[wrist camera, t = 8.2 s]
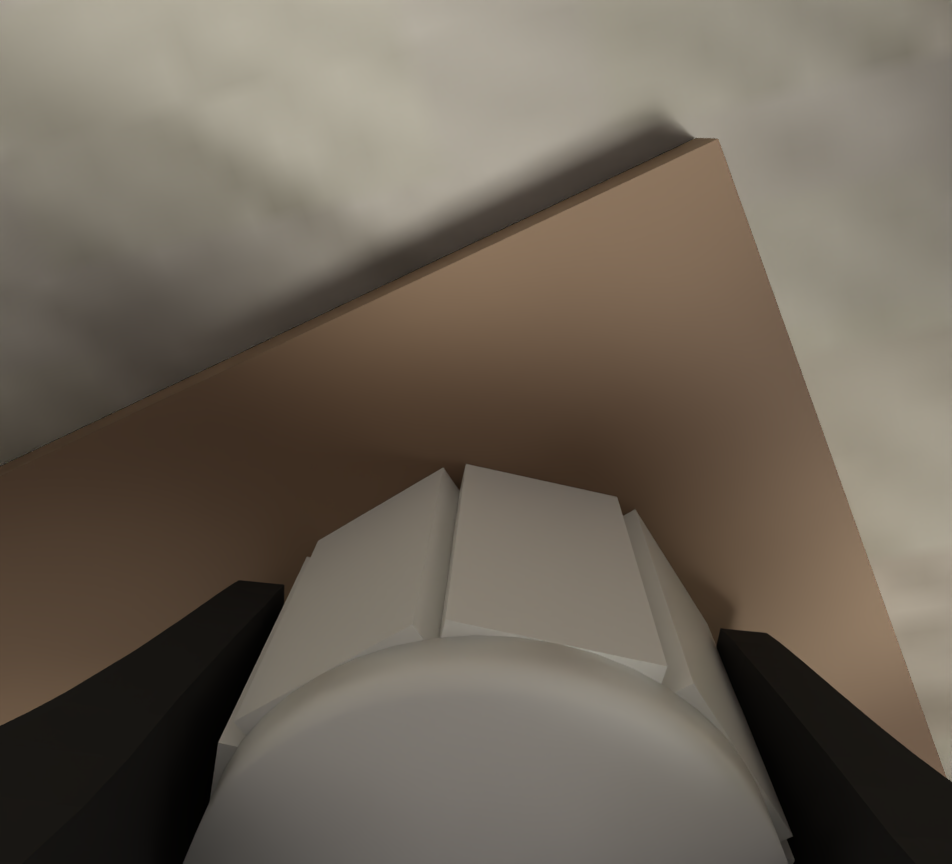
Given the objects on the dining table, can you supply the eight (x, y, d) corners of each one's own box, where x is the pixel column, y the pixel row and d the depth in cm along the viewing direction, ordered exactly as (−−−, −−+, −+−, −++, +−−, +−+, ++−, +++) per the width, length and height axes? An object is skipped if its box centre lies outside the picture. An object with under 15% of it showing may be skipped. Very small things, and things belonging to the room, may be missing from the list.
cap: (751, 525, 11) (902, 770, 7) (632, 852, 13) (693, 1204, 9) (327, 433, 11) (211, 626, 7) (268, 778, 13) (147, 1102, 8)
